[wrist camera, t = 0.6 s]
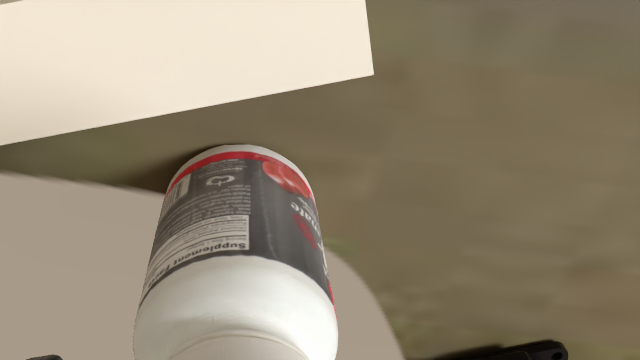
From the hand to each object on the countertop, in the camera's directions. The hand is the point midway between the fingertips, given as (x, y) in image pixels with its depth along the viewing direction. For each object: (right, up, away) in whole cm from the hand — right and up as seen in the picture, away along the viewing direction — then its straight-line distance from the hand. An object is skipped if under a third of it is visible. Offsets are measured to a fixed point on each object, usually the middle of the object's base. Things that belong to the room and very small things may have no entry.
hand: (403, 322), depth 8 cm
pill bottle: (-4, +1, +14) cm, 15 cm away
